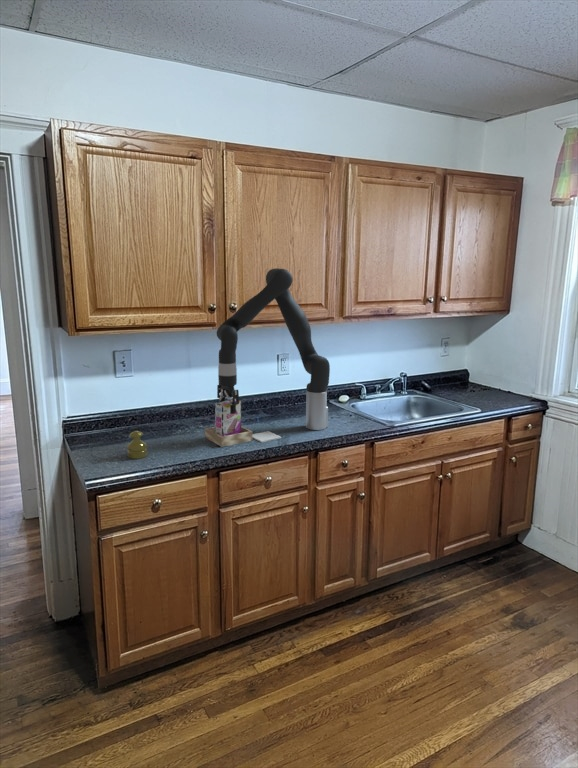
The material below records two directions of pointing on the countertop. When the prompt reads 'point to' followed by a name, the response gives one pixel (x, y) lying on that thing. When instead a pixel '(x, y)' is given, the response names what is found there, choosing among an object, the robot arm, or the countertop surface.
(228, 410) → the candy bar box
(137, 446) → the brass calibration weight
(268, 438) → the mat
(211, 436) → the wooden square frame
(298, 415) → the countertop surface
